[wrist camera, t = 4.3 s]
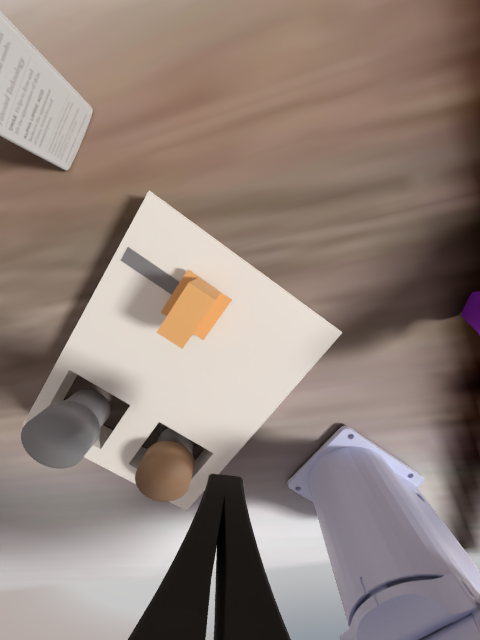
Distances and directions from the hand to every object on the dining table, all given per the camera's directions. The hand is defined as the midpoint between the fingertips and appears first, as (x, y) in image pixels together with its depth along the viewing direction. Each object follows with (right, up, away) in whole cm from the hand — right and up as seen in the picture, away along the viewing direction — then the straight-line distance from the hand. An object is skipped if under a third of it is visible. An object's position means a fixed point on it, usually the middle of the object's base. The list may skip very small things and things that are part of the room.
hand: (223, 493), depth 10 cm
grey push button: (-11, 0, +8) cm, 14 cm away
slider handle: (-2, +8, +5) cm, 10 cm away
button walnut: (-5, -3, +10) cm, 12 cm away
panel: (-4, +3, +9) cm, 10 cm away
